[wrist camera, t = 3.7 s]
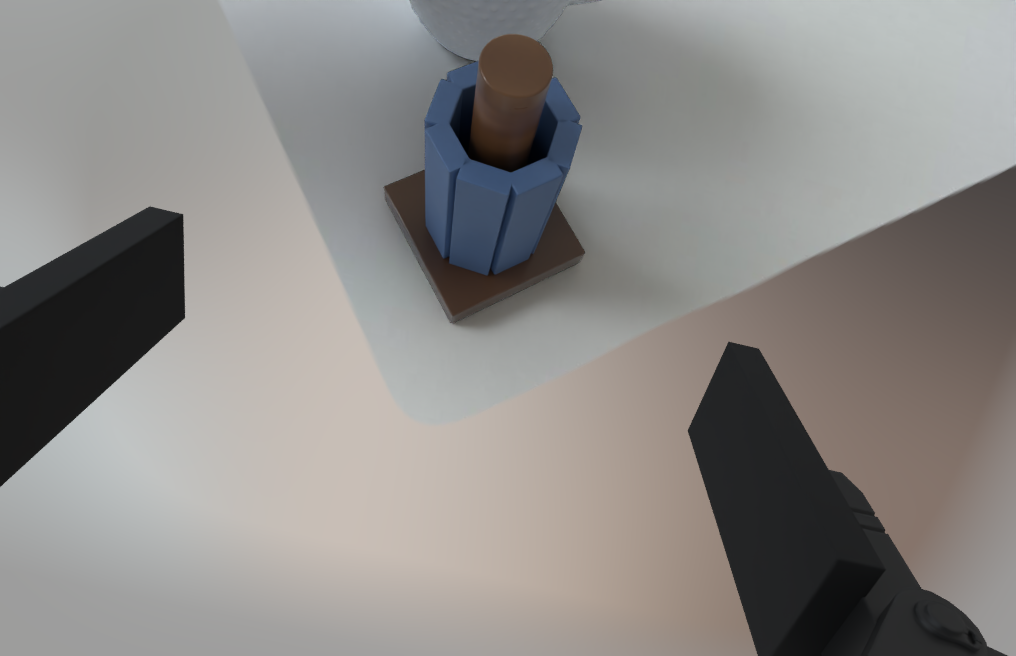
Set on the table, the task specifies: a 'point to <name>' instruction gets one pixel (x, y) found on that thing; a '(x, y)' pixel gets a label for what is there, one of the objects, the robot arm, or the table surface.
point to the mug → (486, 20)
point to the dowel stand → (501, 144)
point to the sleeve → (491, 179)
